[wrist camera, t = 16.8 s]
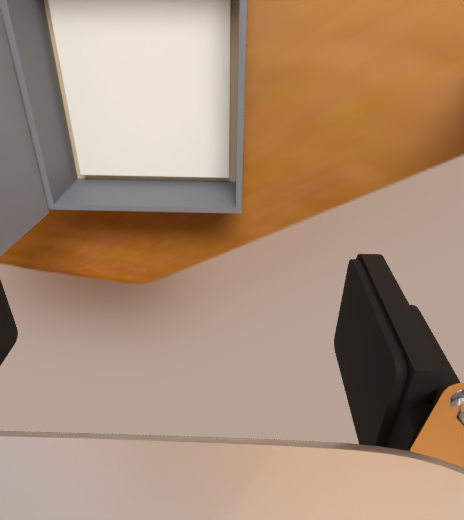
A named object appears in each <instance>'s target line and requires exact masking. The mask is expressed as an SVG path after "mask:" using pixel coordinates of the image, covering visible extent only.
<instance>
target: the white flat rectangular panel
mask: <svg viewBox="0 0 464 520" xmlns="http://www.w3.org/2000/svg"><path fill="white" fill-rule="evenodd" d="M48 3H49V8H50V14H51V19H52V24H53V30H54V35H55V40H56V46H57V51H58V56H59V62H60V67H61V72H62V78H63V83H64V88H65V94H66V99H67V104H68V110H69V115H70V120H71V126H72V131H73V136H74V142H75V147H76V152H77V158H78V163H79V168H80V174H81V175H114V176H164V177H214V178H229V144H230V34H231V0H48Z"/></svg>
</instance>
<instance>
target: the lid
mask: <svg viewBox="0 0 464 520" xmlns="http://www.w3.org/2000/svg"><path fill="white" fill-rule="evenodd" d="M48 213H49V209H48V204H47V200H46V196H45V192H44V188H43V184H42V179H41V175H40V171H39V167H38V163H37V159H36V154H35V150H34V146H33V142H32V138H31V134H30V130H29V125H28V121H27V117H26V113H25V109H24V105H23V100H22V96H21V92H20V88H19V84H18V80H17V75H16V71H15V67H14V63H13V59H12V55H11V51H10V46H9V42H8V38H7V34H6V30H5V26H4V21H3V17H2V13H1V9H0V256H2V255H3V254H4V253H5V252H6V251H7V250H8V249H9V248H11V247H12V246H13V245H14V244H15V243H16V242H17V241H18V240H19V239H21V238H22V237H23V236H24V235H25V234H26V233H27V232H28V231H29V230H31V229H32V228H33V227H34V226H35V225H36V224H37V223H38V222H39V221H41V220H42V219H43V218H44V217H45V216H46V215H47V214H48Z"/></svg>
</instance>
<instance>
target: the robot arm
mask: <svg viewBox="0 0 464 520" xmlns="http://www.w3.org/2000/svg"><path fill="white" fill-rule="evenodd" d="M17 335H18V332H17V327H16V324H15V321H14V318H13V315H12V313H11V310H10V307H9V304H8V301H7V298H6V295H5V292H4V289H3V286H2V283H1V280H0V365H1V364H2V362H3V361H4V359H5V358H6V356H7V355H8V353H9V351H10V350H11V349H12V347H13V345H14V344H15V342H16V340H17ZM334 347H335V353H336V357H337V361H338V364H339V368H340V372H341V376H342V380H343V384H344V387H345V391H346V395H347V399H348V403H349V407H350V410H351V414H352V418H353V422H354V425H355V430H356V433H357V437H358V441H359V444H349V443H335V442H315V441H295V440H275V439H274V440H273V439H248V438H219V437H189V436H187V437H186V436H158V435H125V434H89V433H55V432H19V431H0V520H464V383H460V381H459V379H458V378H457V376H456V374H455V372H454V371H453V369H452V367H451V365H450V363H449V362H448V360H447V358H446V356H445V355H444V353H443V351H442V349H441V348H440V346H439V344H438V342H437V340H436V339H435V337H434V335H433V333H432V332H431V330H430V328H429V326H428V325H427V323H426V321H425V319H424V318H423V316H422V314H421V312H420V311H419V309H418V308H417V307H416V306H414V305H409V303H408V301H407V300H406V298H405V296H404V294H403V292H402V290H401V289H400V287H399V285H398V283H397V281H396V280H395V278H394V276H393V274H392V272H391V270H390V268H389V267H388V265H387V263H386V261H385V259H384V258H383V256H382V255H379V254H359V255H358V256H357V258H356V259H351V260H350V261H349V264H348V269H347V274H346V280H345V286H344V290H343V296H342V301H341V306H340V311H339V317H338V322H337V327H336V333H335V338H334Z"/></svg>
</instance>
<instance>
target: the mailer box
mask: <svg viewBox="0 0 464 520" xmlns="http://www.w3.org/2000/svg"><path fill="white" fill-rule="evenodd" d="M0 6H1V11H2V15H3V19H4V23H5V27H6V31H7V36H8V40H9V44H10V48H11V52H12V56H13V61H14V65H15V69H16V73H17V77H18V81H19V86H20V90H21V94H22V98H23V102H24V106H25V111H26V115H27V119H28V123H29V127H30V131H31V136H32V140H33V144H34V148H35V152H36V157H37V161H38V165H39V169H40V173H41V177H42V182H43V186H44V190H45V194H46V198H47V202H48V207H49V210H96V211H144V212H191V213H238V214H242V178H243V140H244V103H245V65H246V28H247V0H231V34H230V144H229V178H214V177H164V176H114V175H81V174H80V168H79V163H78V158H77V152H76V147H75V142H74V136H73V131H72V126H71V120H70V115H69V110H68V104H67V99H66V94H65V88H64V83H63V78H62V72H61V67H60V62H59V56H58V51H57V46H56V40H55V35H54V30H53V24H52V19H51V14H50V8H49V3H48V0H0Z"/></svg>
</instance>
